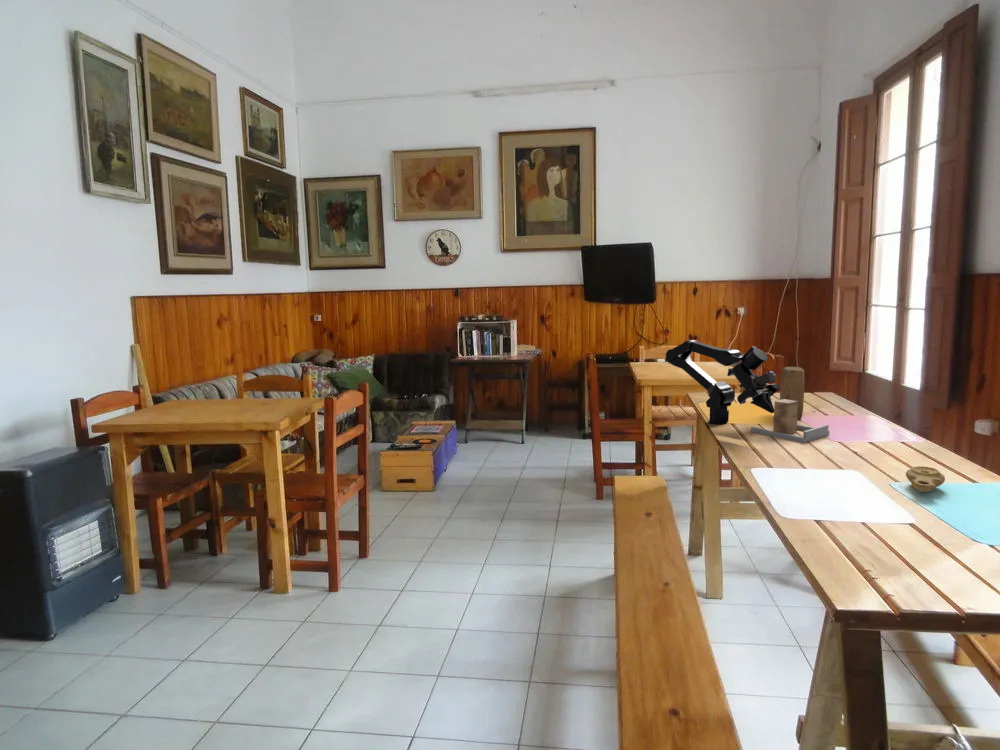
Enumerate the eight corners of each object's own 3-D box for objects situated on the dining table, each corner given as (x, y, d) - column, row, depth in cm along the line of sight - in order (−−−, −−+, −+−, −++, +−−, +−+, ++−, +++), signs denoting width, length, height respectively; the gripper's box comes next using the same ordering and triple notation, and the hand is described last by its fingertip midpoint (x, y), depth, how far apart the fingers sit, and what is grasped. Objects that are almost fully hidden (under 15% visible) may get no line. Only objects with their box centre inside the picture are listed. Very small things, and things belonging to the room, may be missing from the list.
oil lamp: (917, 499, 159) (918, 480, 158) (889, 480, 173) (891, 463, 172) (962, 500, 157) (964, 481, 156) (931, 481, 171) (933, 463, 170)
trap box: (750, 435, 222) (751, 421, 221) (776, 428, 231) (776, 415, 230) (804, 447, 206) (804, 432, 205) (829, 439, 215) (830, 424, 214)
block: (803, 421, 241) (806, 369, 237) (782, 420, 242) (785, 369, 239) (797, 415, 251) (800, 365, 248) (777, 414, 253) (779, 365, 249)
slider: (773, 432, 220) (774, 401, 218) (782, 429, 223) (784, 399, 221) (786, 434, 216) (788, 403, 214) (796, 432, 219) (797, 401, 217)
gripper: (746, 366, 219) (774, 402, 211) (776, 361, 229) (804, 395, 222) (725, 386, 226) (752, 421, 219) (755, 380, 237) (782, 413, 230)
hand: (773, 412), depth 222 cm, fingers closed
